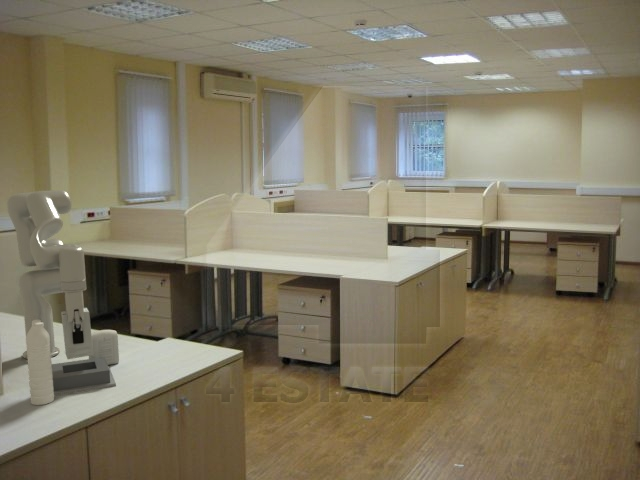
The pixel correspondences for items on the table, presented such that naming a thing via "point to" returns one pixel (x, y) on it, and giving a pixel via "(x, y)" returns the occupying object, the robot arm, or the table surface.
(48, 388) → the water bottle
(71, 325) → the skincare box
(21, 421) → the table surface
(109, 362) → the photo printer
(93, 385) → the dock
